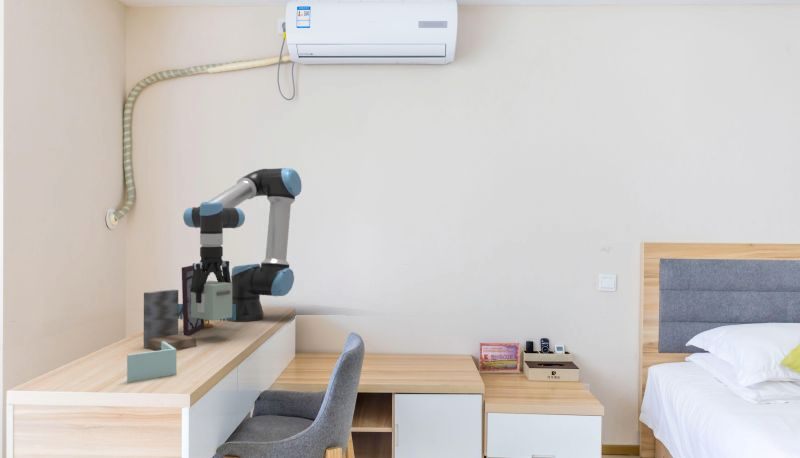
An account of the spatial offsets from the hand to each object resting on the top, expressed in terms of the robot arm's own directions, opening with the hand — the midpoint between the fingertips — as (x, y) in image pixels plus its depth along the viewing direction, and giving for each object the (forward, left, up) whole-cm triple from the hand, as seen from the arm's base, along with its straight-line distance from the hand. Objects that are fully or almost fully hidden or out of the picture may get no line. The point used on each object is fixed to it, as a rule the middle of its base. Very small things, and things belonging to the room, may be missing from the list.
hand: (211, 310), depth 194 cm
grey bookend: (+15, 0, -10) cm, 18 cm away
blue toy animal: (-13, -21, -10) cm, 26 cm away
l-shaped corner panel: (+38, +22, -11) cm, 45 cm away
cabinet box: (0, 0, -2) cm, 2 cm away
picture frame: (-2, -19, -11) cm, 22 cm away
